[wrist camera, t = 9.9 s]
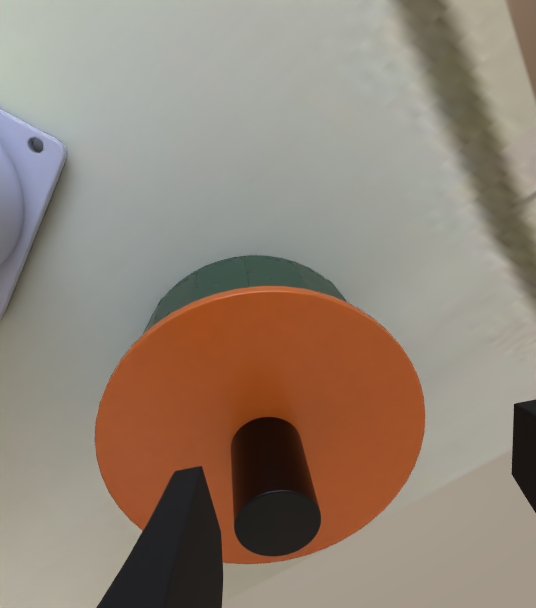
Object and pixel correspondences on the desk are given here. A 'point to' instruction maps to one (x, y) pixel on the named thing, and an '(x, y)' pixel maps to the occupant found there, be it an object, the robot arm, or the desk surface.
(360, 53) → the desk surface
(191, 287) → the tin
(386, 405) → the lid
